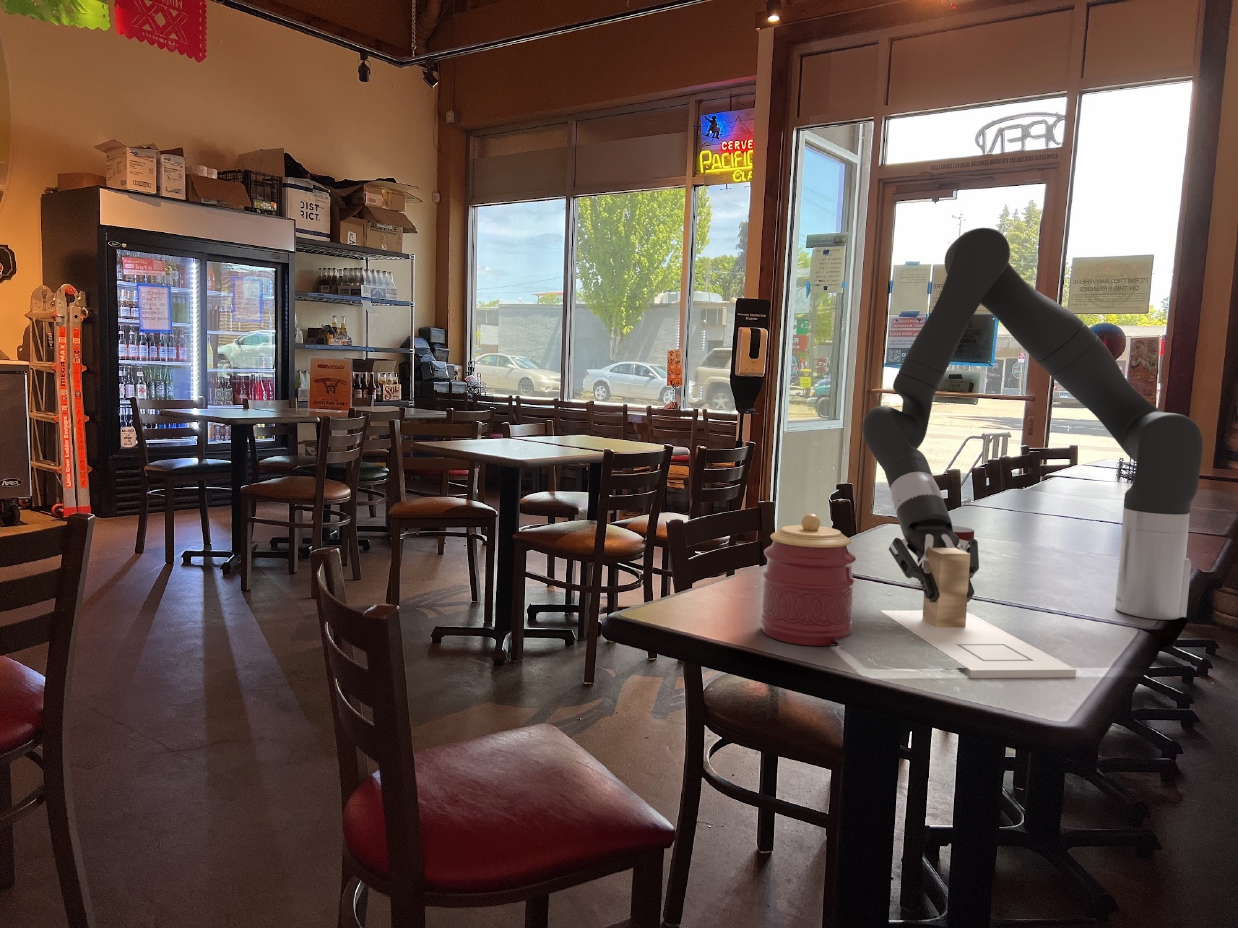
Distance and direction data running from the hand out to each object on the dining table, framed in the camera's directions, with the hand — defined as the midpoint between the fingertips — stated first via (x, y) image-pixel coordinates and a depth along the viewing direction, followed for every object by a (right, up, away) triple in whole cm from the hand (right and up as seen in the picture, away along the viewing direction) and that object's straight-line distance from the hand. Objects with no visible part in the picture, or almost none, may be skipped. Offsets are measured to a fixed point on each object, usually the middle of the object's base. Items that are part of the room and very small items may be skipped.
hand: (951, 599), depth 125 cm
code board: (0, -6, -5) cm, 7 cm away
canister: (-22, -5, -2) cm, 23 cm away
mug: (+14, -2, +37) cm, 40 cm away
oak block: (0, -4, +2) cm, 4 cm away
